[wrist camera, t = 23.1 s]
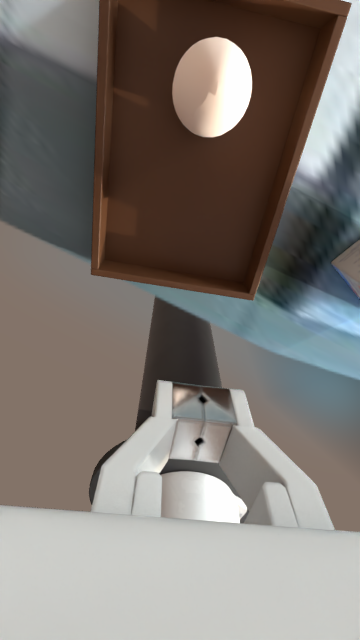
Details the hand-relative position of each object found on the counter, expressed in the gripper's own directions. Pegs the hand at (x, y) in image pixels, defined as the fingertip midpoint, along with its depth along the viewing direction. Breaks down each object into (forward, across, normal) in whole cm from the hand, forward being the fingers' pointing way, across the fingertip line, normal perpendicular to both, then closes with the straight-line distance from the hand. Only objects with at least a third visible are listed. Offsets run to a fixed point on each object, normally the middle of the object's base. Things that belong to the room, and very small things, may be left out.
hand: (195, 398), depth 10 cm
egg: (+19, 0, -11) cm, 22 cm away
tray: (+19, 0, -6) cm, 20 cm away
